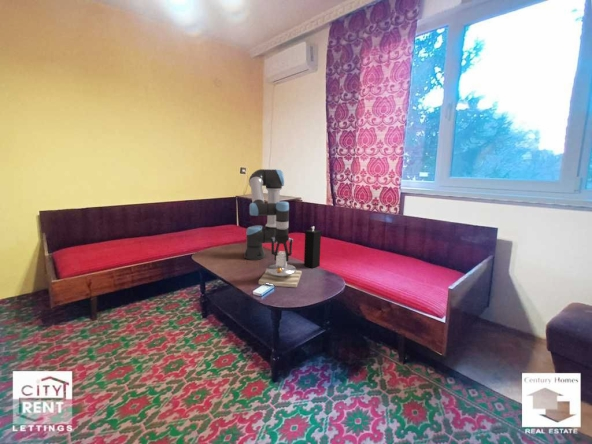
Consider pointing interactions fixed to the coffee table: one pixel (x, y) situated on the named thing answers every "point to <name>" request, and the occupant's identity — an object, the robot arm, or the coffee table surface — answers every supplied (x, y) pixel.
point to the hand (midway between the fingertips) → (281, 265)
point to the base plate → (281, 279)
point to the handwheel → (281, 266)
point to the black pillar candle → (312, 248)
